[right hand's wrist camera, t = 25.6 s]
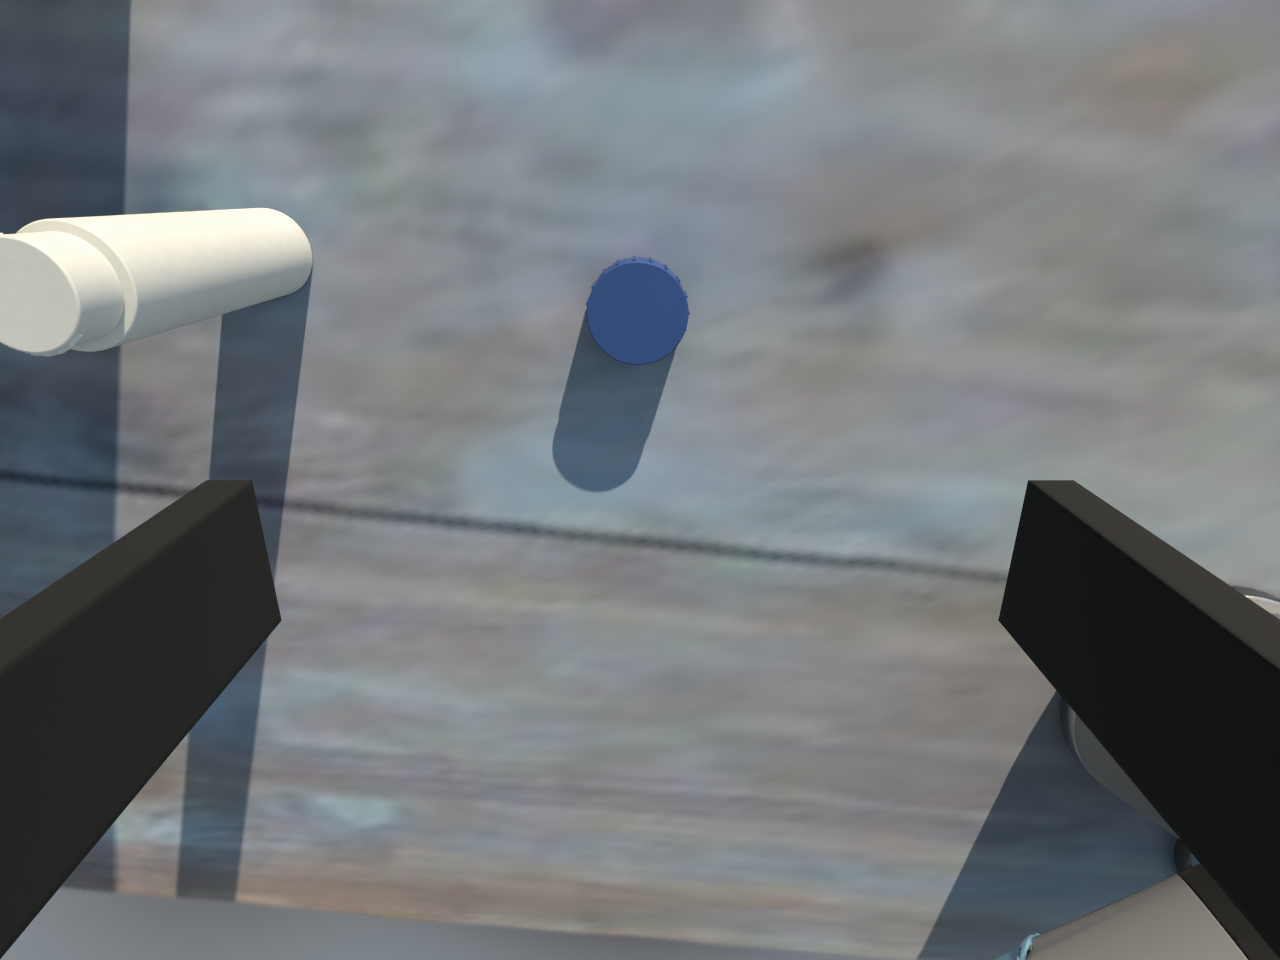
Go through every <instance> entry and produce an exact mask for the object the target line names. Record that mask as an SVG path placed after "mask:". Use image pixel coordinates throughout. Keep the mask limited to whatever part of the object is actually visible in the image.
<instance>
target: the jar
mask: <svg viewBox="0 0 1280 960" xmlns="http://www.w3.org/2000/svg"><path fill="white" fill-rule="evenodd" d="M311 269H312V251H311V247H310V244H309V241H308V239H307V237H306V235H305V234H304V232H303V231H302V229H301V228H300V227H299V226H298V225H297V223H295V222H294V221H293V220H292V219H291V218H289V217H288V216H287V215H285V214H283V213H281V212H279V211H276V210H273V209H268V208H249V209H230V210H210V211H191V212H171V213H152V214H132V215H113V216H93V217H74V218H54V219H43V220H38V221H35V222H32V223H30V224H28V225H26V226H24V227H23V228H21V229H20V230H19V231H18V232H17V233H16V234H5V235H4V234H3V233H0V343H2V344H4V345H6V346H8V347H10V348H12V349H15V350H17V351H21V352H25V353H29V354H32V356H47V357H49V356H53V355H58V354H63V353H65V352H66V351H68V350H70V349H73V350H77V351H84V352H95V351H102V350H105V349H109V348H112V347H115V346H119V345H122V344H125V343H129V342H132V341H135V340H139V339H142V338H145V337H149V336H152V335H155V334H159V333H162V332H165V331H169V330H172V329H175V328H179V327H182V326H185V325H188V324H192V323H195V322H198V321H202V320H205V319H208V318H212V317H215V316H218V315H222V314H225V313H228V312H232V311H235V310H238V309H242V308H245V307H248V306H252V305H255V304H258V303H262V302H265V301H268V300H271V299H275V298H278V297H281V296H285V295H288V294H291V293H293V292H295V291H297V290H298V289H300V288H301V287H302V286H303V285H304V284H305V282H306V281H307V279H308V277H309V275H310V273H311Z"/></svg>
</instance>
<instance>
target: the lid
mask: <svg viewBox="0 0 1280 960" xmlns="http://www.w3.org/2000/svg"><path fill="white" fill-rule="evenodd" d="M679 282H680V280H679V278H678V276H675V275H674V274H673V273H672V272H671V271H670V270H669V269H668V268H667V265H662V264H660V263H659V262H656V261H654V260H652V258H649V259H647V258H635V256H633V258H629V259H625V260H622V261H619V260H617V262H616V263H615V264H613V265H612V266H610V267H609V268H608V269H606V270H605V269H604V270H603V272H602V274H601V276H600V277H599V278H598V280H597V281H596V283H595V282H594V283H593V285H592V292H591V294H590V297H589V298H588V301H587V303H586V305H587V322H588V326H589V329H590V332H591V335H592V337H593V339H594V340H595V342H596V343H597V345H598V346H599V347H600V348H601V349H602V350H603V351H604V352H605V353H606V354H607V355H609V356H610V357H612V358H614V359H616V360H618V361H620V362H623V363H627V364H635V365H640V364H648V363H652V362H655V361H657V360H660V359H662V358H663V357H665V356H667V355H668V354H669V353H670V352H672V351H673V350H674V348H675V347H676V346H677V345H678V344H679V342H680V341H681V339H682V337H683V335H684V333H685V331H686V327H687V323H688V315H689V310H688V304H687V300H686V298H687V294H686V292H685V291H683V289H682V287H681V284H680V283H679Z"/></svg>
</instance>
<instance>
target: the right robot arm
mask: <svg viewBox="0 0 1280 960" xmlns="http://www.w3.org/2000/svg"><path fill="white" fill-rule="evenodd" d="M280 621H281V616H280V611H279V607H278V602H277V597H276V592H275V588H274V583H273V578H272V574H271V569H270V564H269V559H268V555H267V550H266V545H265V541H264V536H263V531H262V526H261V522H260V517H259V512H258V508H257V503H256V498H255V493H254V489H253V484H252V480H206V481H205V482H203V483H202V484H200V485H199V486H198V487H196V488H195V489H193V490H192V491H190V492H189V493H187V494H186V495H184V496H183V497H181V498H180V499H178V500H177V501H175V502H174V503H172V504H171V505H169V506H168V507H166V508H165V509H163V510H162V511H160V512H159V513H157V514H156V515H154V516H153V517H152V518H150V519H149V520H147V521H146V522H144V523H143V524H141V525H140V526H138V527H137V528H135V529H134V530H132V531H131V532H129V533H128V534H126V535H125V536H123V537H122V538H120V539H119V540H117V541H116V542H114V543H113V544H111V545H110V546H108V547H107V548H105V549H104V550H103V551H101V552H100V553H98V554H97V555H95V556H94V557H92V558H91V559H89V560H88V561H86V562H85V563H83V564H82V565H80V566H79V567H77V568H76V569H74V570H73V571H71V572H70V573H68V574H67V575H65V576H64V577H62V578H61V579H59V580H58V581H56V582H55V583H54V584H52V585H51V586H49V587H48V588H46V589H45V590H43V591H42V592H40V593H39V594H37V595H36V596H34V597H33V598H31V599H30V600H28V601H27V602H25V603H24V604H22V605H21V606H19V607H18V608H16V609H15V610H13V611H12V612H10V613H9V614H8V615H6V616H5V617H3V618H2V619H0V959H1V958H2V956H3V955H4V954H5V953H6V952H7V950H8V949H9V948H10V947H11V946H12V944H13V943H14V942H15V941H16V940H17V938H18V937H19V936H20V935H21V933H22V932H23V931H24V930H25V929H26V927H27V926H28V925H29V924H30V923H31V921H32V920H33V919H34V918H35V917H36V915H37V914H38V913H39V912H40V911H41V909H42V908H43V907H44V906H45V905H46V903H47V902H48V901H49V900H50V899H51V897H52V896H53V895H54V894H55V893H56V891H57V890H58V889H59V888H60V886H61V885H62V884H63V883H64V882H65V880H66V879H67V878H68V877H69V876H70V874H71V873H72V872H73V871H74V870H75V868H76V867H77V866H78V865H79V864H80V862H81V861H82V860H83V859H84V858H85V856H86V855H87V854H88V853H89V852H90V850H91V849H92V848H93V847H94V846H95V844H96V843H97V842H98V841H99V840H100V838H101V837H102V836H103V835H104V833H105V832H106V831H107V830H108V829H109V827H110V826H111V825H112V824H113V823H114V821H115V820H116V819H117V818H118V817H119V815H120V814H121V813H122V812H123V811H124V809H125V808H126V807H127V806H128V805H129V803H130V802H131V801H132V800H133V799H134V797H135V796H136V795H137V794H138V793H139V791H140V790H141V789H142V788H143V787H144V785H145V784H146V783H147V782H148V780H149V779H150V778H151V777H152V776H153V774H154V773H155V772H156V771H157V770H158V768H159V767H160V766H161V765H162V764H163V762H164V761H165V760H166V759H167V758H168V756H169V755H170V754H171V753H172V752H173V750H174V749H175V748H176V747H177V746H178V744H179V743H180V742H181V741H182V740H183V738H184V737H185V736H186V735H187V734H188V732H189V731H190V730H191V729H192V727H193V726H194V725H195V724H196V723H197V721H198V720H199V719H200V718H201V717H202V715H203V714H204V713H205V712H206V711H207V709H208V708H209V707H210V706H211V705H212V703H213V702H214V701H215V700H216V699H217V697H218V696H219V695H220V694H221V693H222V691H223V690H224V689H225V688H226V687H227V685H228V684H229V683H230V682H231V681H232V679H233V678H234V677H235V676H236V674H237V673H238V672H239V671H240V670H241V668H242V667H243V666H244V665H245V664H246V662H247V661H248V660H249V659H250V658H251V656H252V655H253V654H254V653H255V652H256V650H257V649H258V648H259V647H260V646H261V644H262V643H263V642H264V641H265V640H266V638H267V637H268V636H269V635H270V634H271V632H272V631H273V630H274V629H275V628H276V626H277V625H278V624H279V623H280ZM999 621H1000V623H1001V624H1002V625H1003V626H1004V628H1005V629H1006V630H1007V631H1008V632H1009V634H1010V635H1011V636H1012V637H1013V638H1014V640H1015V641H1016V642H1017V643H1018V644H1019V646H1020V647H1021V648H1022V649H1023V650H1024V652H1025V653H1026V654H1027V655H1028V656H1029V658H1030V659H1031V660H1032V661H1033V662H1034V664H1035V665H1036V666H1037V667H1038V668H1039V670H1040V671H1041V672H1042V673H1043V674H1044V676H1045V677H1046V678H1047V679H1048V681H1049V682H1050V683H1051V684H1052V685H1053V687H1054V688H1055V689H1056V690H1057V691H1058V693H1059V694H1060V695H1061V696H1062V697H1063V703H1062V724H1063V730H1064V734H1065V737H1066V739H1067V742H1068V744H1069V746H1070V748H1071V749H1072V751H1073V753H1074V754H1075V755H1076V756H1077V758H1078V759H1079V760H1080V762H1081V763H1082V764H1083V766H1084V767H1085V768H1086V769H1087V771H1088V772H1089V773H1090V774H1091V775H1092V776H1093V777H1094V778H1095V779H1096V780H1097V781H1098V782H1099V783H1100V784H1101V785H1102V786H1103V787H1105V788H1106V789H1107V790H1108V791H1109V792H1111V793H1112V794H1113V795H1115V796H1116V797H1118V798H1119V799H1121V800H1123V801H1124V802H1125V803H1127V804H1128V805H1130V806H1131V807H1133V808H1134V809H1136V810H1137V811H1138V812H1140V813H1141V814H1143V815H1144V816H1146V817H1147V818H1149V819H1150V820H1152V821H1153V822H1155V823H1156V824H1158V825H1159V826H1161V827H1162V828H1164V829H1165V830H1167V831H1168V832H1170V833H1171V834H1173V835H1174V836H1176V837H1177V838H1178V839H1177V841H1176V844H1175V849H1174V856H1175V862H1176V866H1177V869H1178V872H1179V873H1177V874H1175V875H1173V876H1170V877H1168V878H1166V879H1164V880H1162V881H1159V882H1157V883H1155V884H1153V885H1151V886H1148V887H1146V888H1144V889H1142V890H1140V891H1137V892H1135V893H1133V894H1131V895H1129V896H1126V897H1124V898H1122V899H1120V900H1118V901H1115V902H1113V903H1111V904H1109V905H1106V906H1104V907H1102V908H1100V909H1098V910H1095V911H1093V912H1091V913H1089V914H1087V915H1084V916H1082V917H1080V918H1078V919H1076V920H1073V921H1071V922H1069V923H1066V924H1064V925H1062V926H1059V927H1057V928H1055V929H1052V930H1050V931H1048V932H1045V933H1043V934H1039V933H1035V934H1031V935H1029V936H1026V937H1025V938H1024V939H1023V941H1022V943H1021V944H1020V945H1018V946H1016V947H1014V948H1013V949H1011V950H1009V951H1007V952H1005V953H1004V954H1002V955H1000V956H998V957H996V958H994V959H993V960H1280V599H1278V598H1276V597H1275V596H1272V595H1270V594H1267V593H1265V592H1262V591H1258V590H1254V589H1250V588H1244V587H1236V586H1229V585H1228V584H1226V583H1225V582H1224V581H1222V580H1221V579H1219V578H1218V577H1216V576H1215V575H1213V574H1212V573H1210V572H1209V571H1207V570H1206V569H1204V568H1203V567H1201V566H1200V565H1198V564H1197V563H1195V562H1194V561H1192V560H1191V559H1189V558H1188V557H1186V556H1185V555H1183V554H1182V553H1180V552H1179V551H1177V550H1176V549H1175V548H1173V547H1172V546H1170V545H1169V544H1167V543H1166V542H1164V541H1163V540H1161V539H1160V538H1158V537H1157V536H1155V535H1154V534H1152V533H1151V532H1149V531H1148V530H1146V529H1145V528H1143V527H1142V526H1140V525H1139V524H1137V523H1136V522H1134V521H1133V520H1131V519H1130V518H1128V517H1127V516H1126V515H1124V514H1123V513H1121V512H1120V511H1118V510H1117V509H1115V508H1114V507H1112V506H1111V505H1109V504H1108V503H1106V502H1105V501H1103V500H1102V499H1100V498H1099V497H1097V496H1096V495H1094V494H1093V493H1091V492H1090V491H1088V490H1087V489H1085V488H1084V487H1082V486H1081V485H1080V484H1078V483H1077V482H1075V481H1074V480H1028V484H1027V489H1026V493H1025V498H1024V503H1023V508H1022V512H1021V517H1020V522H1019V526H1018V531H1017V536H1016V541H1015V545H1014V550H1013V555H1012V559H1011V564H1010V569H1009V574H1008V578H1007V583H1006V588H1005V592H1004V597H1003V602H1002V606H1001V611H1000V616H999ZM1191 853H1192V854H1193V855H1194V856H1195V858H1196V859H1197V860H1198V861H1199V862H1200V864H1198V865H1196V866H1194V867H1191V861H1190V854H1191Z"/></svg>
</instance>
